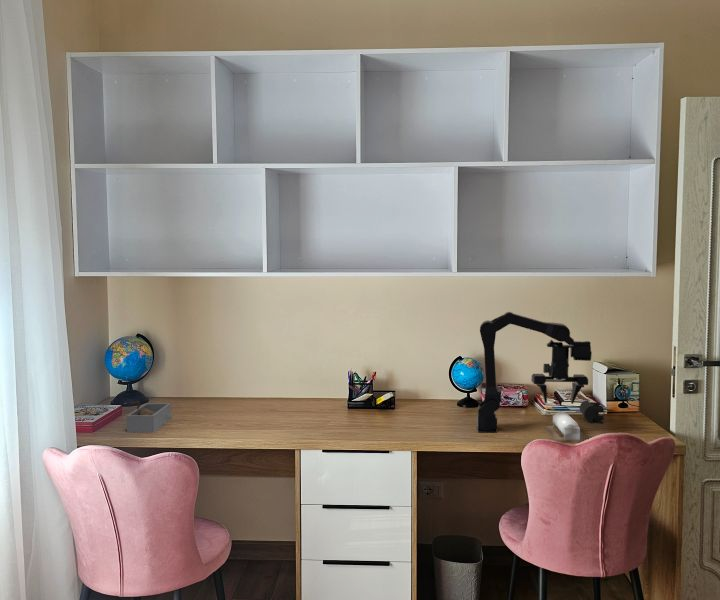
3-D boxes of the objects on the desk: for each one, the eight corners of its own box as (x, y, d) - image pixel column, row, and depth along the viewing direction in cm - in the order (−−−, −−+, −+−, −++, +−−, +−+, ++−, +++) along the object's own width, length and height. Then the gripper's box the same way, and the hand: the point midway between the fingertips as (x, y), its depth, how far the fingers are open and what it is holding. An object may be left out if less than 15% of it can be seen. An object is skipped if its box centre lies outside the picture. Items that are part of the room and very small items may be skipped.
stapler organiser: (126, 432, 255) (126, 415, 254) (146, 418, 275) (145, 403, 274) (154, 432, 254) (153, 415, 254) (171, 418, 274) (170, 403, 274)
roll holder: (555, 442, 239) (556, 428, 238) (544, 428, 257) (544, 415, 256) (588, 442, 238) (588, 428, 238) (574, 428, 256) (575, 415, 256)
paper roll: (559, 435, 241) (563, 418, 241) (551, 426, 254) (555, 410, 253) (577, 438, 241) (580, 421, 241) (568, 429, 254) (571, 413, 253)
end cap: (579, 417, 274) (579, 400, 274) (598, 417, 273) (598, 400, 273) (584, 423, 264) (584, 405, 264) (603, 424, 263) (604, 406, 263)
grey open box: (125, 424, 264) (125, 401, 264) (131, 421, 269) (131, 399, 268) (158, 427, 261) (158, 404, 260) (164, 424, 265) (164, 401, 264)
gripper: (581, 356, 255) (579, 398, 257) (529, 355, 256) (528, 397, 258) (589, 361, 244) (587, 405, 246) (535, 360, 245) (533, 404, 247)
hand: (558, 403), depth 249 cm, fingers open, 9 cm apart
